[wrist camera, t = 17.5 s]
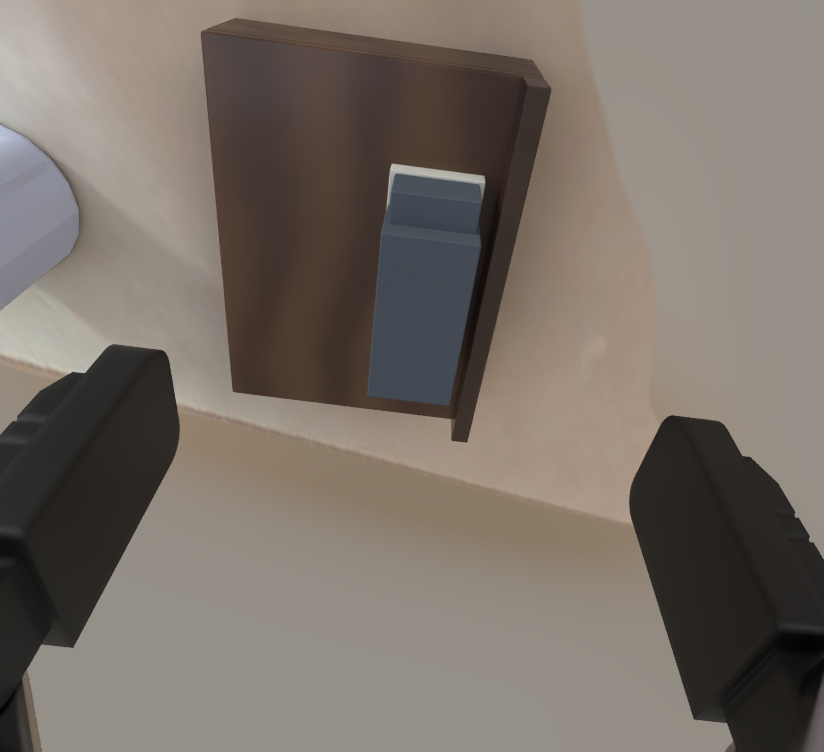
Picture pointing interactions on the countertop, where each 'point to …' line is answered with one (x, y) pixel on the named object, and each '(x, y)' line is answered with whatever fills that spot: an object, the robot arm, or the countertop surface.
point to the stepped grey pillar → (424, 282)
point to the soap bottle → (31, 215)
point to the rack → (352, 194)
